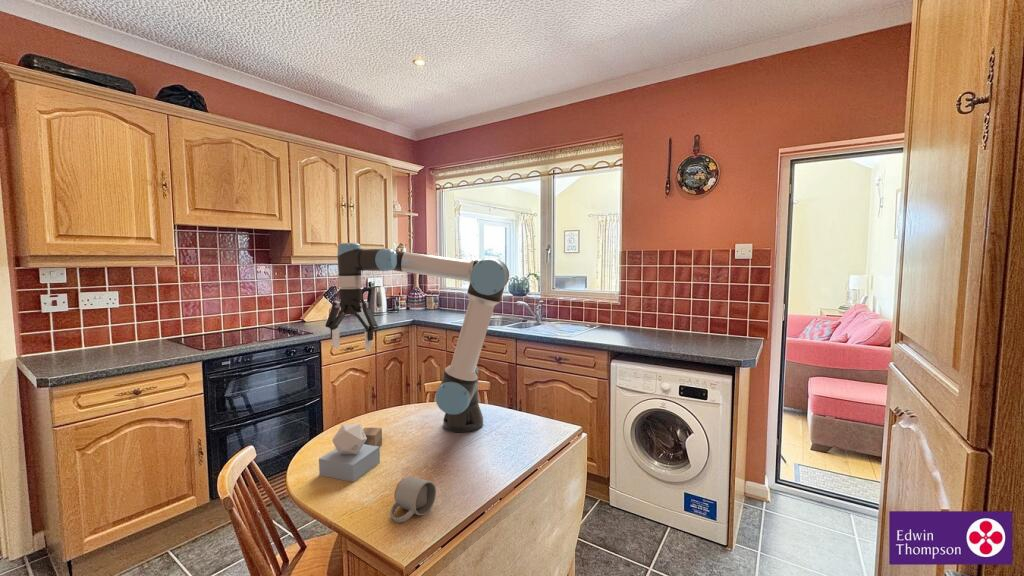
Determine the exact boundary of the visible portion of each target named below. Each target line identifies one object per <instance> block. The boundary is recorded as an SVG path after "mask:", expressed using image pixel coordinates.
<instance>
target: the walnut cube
mask: <svg viewBox="0 0 1024 576" xmlns="http://www.w3.org/2000/svg"><path fill="white" fill-rule="evenodd" d="M362 429H363V431H364V433H365V435H366V438H367V440H366V441H365V443H364V444H366V445H372V446H378V447H380V448H381V447H382V446H383V431H382V430H383V429H382V427H363V428H362Z"/></svg>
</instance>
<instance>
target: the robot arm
mask: <svg viewBox="0 0 1024 576" xmlns="http://www.w3.org/2000/svg"><path fill="white" fill-rule="evenodd" d="M336 258H337V271H338V275H337V277H338V278H337V279H338V280H337V281H338V283H337V284H338V285H337V286H338V288H339V290H338V299H339V300H340V301H339V300H338V301H336V300H335V301H332V304H331V310H330V312H329V315H328V317H327V320H326V323H325V327H326V328H328V329H329V330H330V337H331V339H332V349H337V348H339V347H341V346H340V345H341V343H340V342H341V341H340V339H341V338H340V328H339V326H340V324H341V323H342V321H343V320H344V319H345V317H346V316H349V315H350V316H355V317H356V319H358V321H359V323H360V324H361V325H362V326H363V327H364V329H365V331H364V351H366V352H367V351H370V350H372V347H373V346H372V345H373V342H372V341H373V340H374V331H375V330H377V329H379V325H378V323H377V321H376V319H375V317H374V315H373V312H372V310H371V306H370V305H371V304H370V302H369V301H365V302H362V298H363V289H362V288H361V287H362V285H363V284H362V282H363V281H362V272H366V271H369V272H370V271H371V272H375V271H376V272H388V271H395V272H403V273H410V274H416V275H423V276H429V277H430V276H431V277H437V278H444V279H450V280H458V281H464V282H469V285H468V289H467V292H466V293H467V295H468V297H469V301H468V305H467V308H466V311H465V315H464V317H463V323H462V325H461V329H460V333H459V335H458V339H457V341H456V346H455V348H454V349H455V350H454V353H453V357H452V360H451V364H450V365H448V366H446V367H445V369H444V372H443V375H442V378H441V381H440V384H439V386H438V387H437V389H436V391H435V398H434V399H435V403H436V406H437V407H438V408H439V409H440V410H441V411H442V412H443V413H444V417H443V419H442V421H443V423H442V426H443V428H444V429H445V430H447V431H448V432H454V433H467V432H472V431H477V430H479V429H481V428H482V427H483V425H484V416H483V413H482V410H481V408H480V407H481V406H480V404H479V368H478V363H479V359H480V356H481V352H482V349H483V346H484V343H485V338H486V335H487V332H488V328H489V325H490V322H491V318H492V315H493V312H494V308H495V307H496V305H498V304H500V303H501V300H502V297H503V294H504V290H505V287H506V285H507V284H508V283H509V280H510V270H509V268H508V266H507V265H506V263H505V262H503V261H501V260H500V259H497V258H491V257H487V258H483V259H479V258H474V259H473V260H466V259H459V258H451V257H445V256H438V255H429V254H422V253H416V252H408V251H400V250H398V249H391V248H369V249H368V248H367V249H366V248H362V247H361V244H360V243H356V242H355V243H354V242H352V243H351V242H350V243H349V242H348V243H347V242H343V243H339V244H338V245H337V255H336Z"/></svg>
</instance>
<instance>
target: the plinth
mask: <svg viewBox="0 0 1024 576" xmlns="http://www.w3.org/2000/svg"><path fill="white" fill-rule="evenodd" d="M380 449H381V447H378V446H372V445H366V444H364V445H363V446H362V448H361V449H360V451H359V453H358V454H357V455H339V453H338V451H337V449H336V448H335V449H333V450H331V451H329V452H327V453H326V454H324V455H322V456H321V457H319V458H318V467H319V468H318V469H319V470H318V471H319V473H318V474H319V476H322V477H327V478H331V479H336V480H341V481H347V482H351V483H354V482H356V481H357V480H359V479H360V478H361V477H363V476H364V475H365V474H367V473H368V472H369V471H370V470H372V469H373V468H374V467H376V466H378V465H379V464H380V462H381V457H380V456H381V455H380V454H381V453H380V452H381V451H380Z"/></svg>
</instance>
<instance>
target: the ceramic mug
mask: <svg viewBox="0 0 1024 576" xmlns="http://www.w3.org/2000/svg"><path fill="white" fill-rule="evenodd" d="M395 487H396V488H395V490H394V504H392V506H391V508H390V512H389V513H390V517H391V519H392V521H393V522H395V523H396V524H397V523H398V524H399V523H401V524H402V523H404V522H406V521H408V520H409V519H410V518H411V517H412V516H413V515H414V514H415V515H417V516H424V515H426V514H428V513H429V511H430V510H431V509H432V507H433V505H434V503H435V501H436V498H437V497H436V495H437V489H436V485H435V484H434V482H433V481H431V480H427V479H423V478H418V477H415V476H405V477H404V478H402V479H400V481H399V482H398V483H397V485H396V486H395ZM399 507H400V508H402V509H405V510H407V512H406V513H405V514H403V515H402V516H399V517H396V515H395V513H396V510H397V509H398V508H399Z"/></svg>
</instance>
